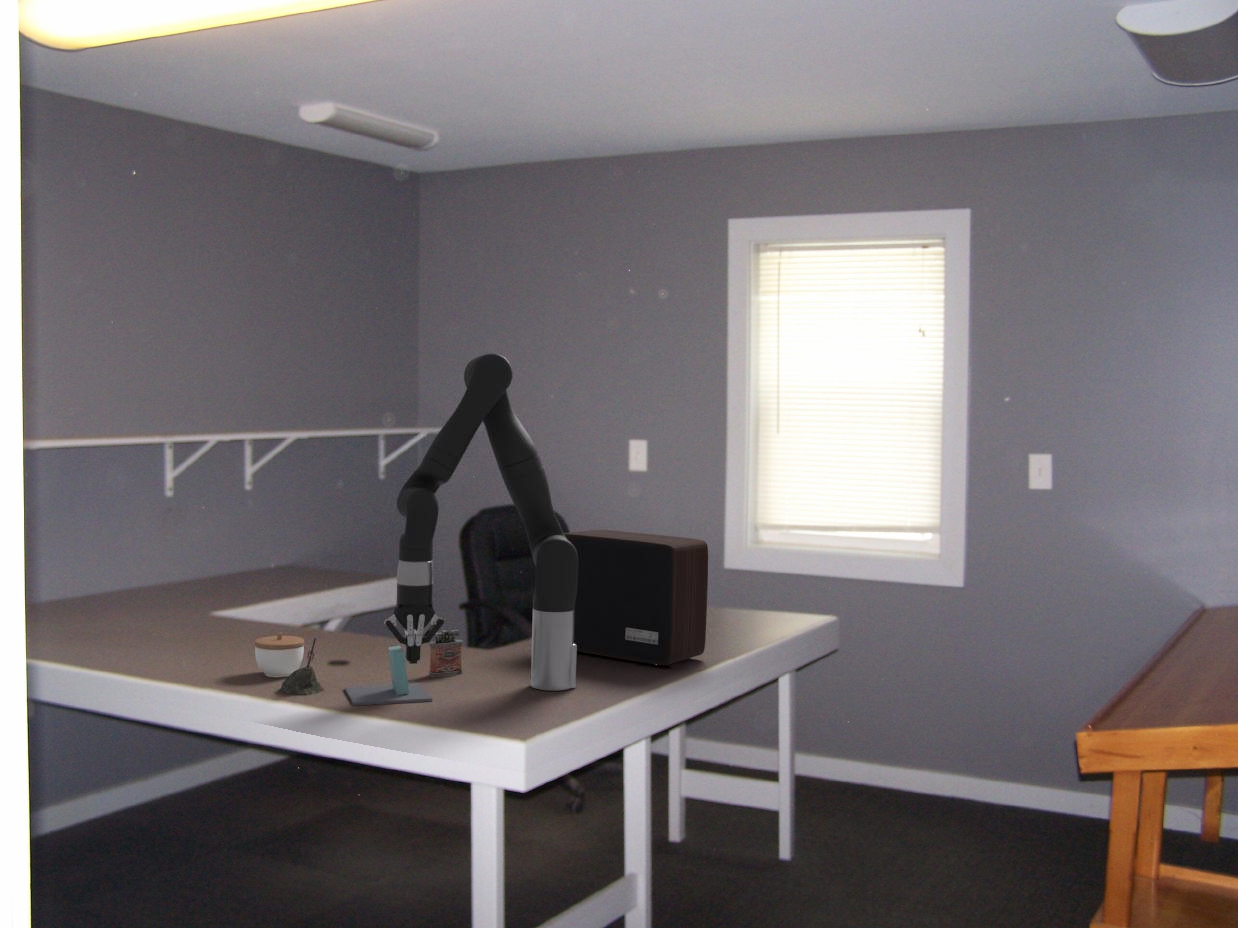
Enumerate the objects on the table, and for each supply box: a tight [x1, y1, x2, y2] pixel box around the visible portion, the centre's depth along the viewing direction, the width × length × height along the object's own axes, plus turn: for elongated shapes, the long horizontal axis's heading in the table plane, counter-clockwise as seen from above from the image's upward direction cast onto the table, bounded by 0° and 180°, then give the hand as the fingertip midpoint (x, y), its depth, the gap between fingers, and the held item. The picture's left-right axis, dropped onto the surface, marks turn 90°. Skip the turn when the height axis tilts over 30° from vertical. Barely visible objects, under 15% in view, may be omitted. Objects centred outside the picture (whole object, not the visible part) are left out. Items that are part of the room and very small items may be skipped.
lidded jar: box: [254, 632, 305, 678], centre depth 273 cm, size 11×11×9 cm
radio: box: [563, 529, 709, 666], centre depth 305 cm, size 36×18×30 cm, turn 56°
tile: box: [387, 645, 409, 695], centre depth 257 cm, size 2×6×9 cm, turn 20°
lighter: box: [428, 629, 464, 678], centre depth 278 cm, size 8×3×10 cm, turn 126°
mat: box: [344, 682, 433, 707], centre depth 256 cm, size 16×14×1 cm
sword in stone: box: [280, 637, 325, 696], centre depth 259 cm, size 10×8×12 cm
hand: (412, 662), depth 258 cm, fingers closed
